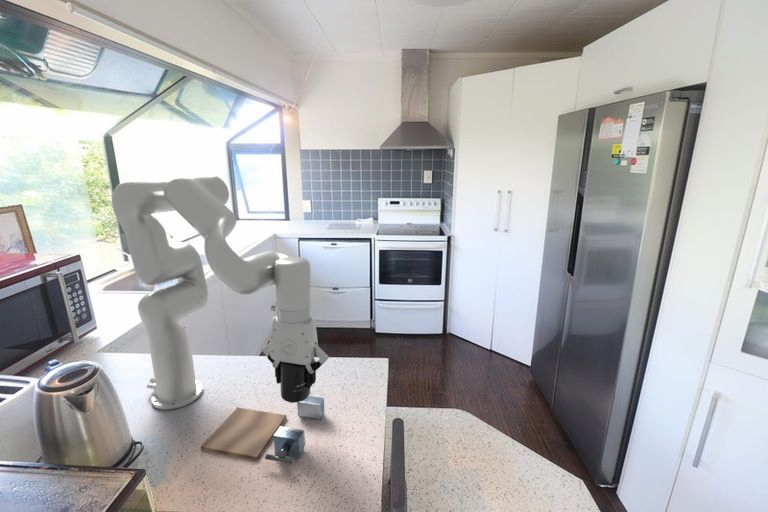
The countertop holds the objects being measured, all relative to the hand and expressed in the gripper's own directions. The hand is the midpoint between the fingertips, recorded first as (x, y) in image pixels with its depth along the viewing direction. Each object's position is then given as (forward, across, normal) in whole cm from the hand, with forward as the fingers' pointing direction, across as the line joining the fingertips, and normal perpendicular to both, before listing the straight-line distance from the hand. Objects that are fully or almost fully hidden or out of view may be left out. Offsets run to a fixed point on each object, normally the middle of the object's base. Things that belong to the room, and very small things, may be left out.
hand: (295, 382), depth 85 cm
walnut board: (+14, -12, -3) cm, 19 cm away
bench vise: (+14, +1, -2) cm, 14 cm away
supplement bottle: (+4, 0, 0) cm, 4 cm away
